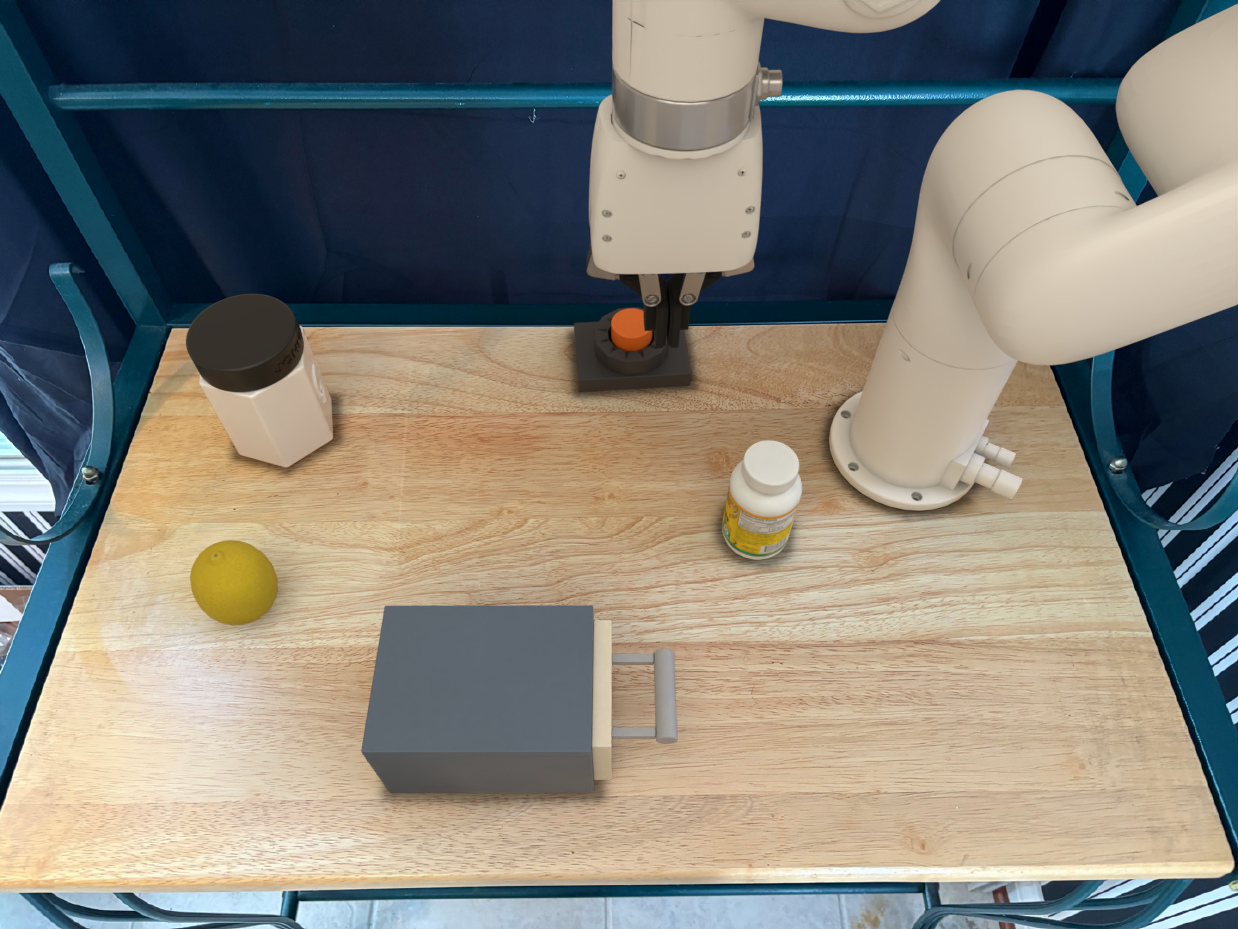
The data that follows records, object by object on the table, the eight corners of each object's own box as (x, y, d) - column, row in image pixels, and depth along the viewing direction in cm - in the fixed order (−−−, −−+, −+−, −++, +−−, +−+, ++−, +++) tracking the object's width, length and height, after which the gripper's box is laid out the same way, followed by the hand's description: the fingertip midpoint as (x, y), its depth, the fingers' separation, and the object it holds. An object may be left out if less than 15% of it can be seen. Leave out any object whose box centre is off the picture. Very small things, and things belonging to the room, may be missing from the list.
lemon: (272, 648, 67) (235, 598, 60) (202, 634, 67) (157, 583, 61) (302, 583, 70) (270, 528, 63) (235, 570, 70) (196, 514, 64)
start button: (649, 320, 82) (650, 306, 80) (653, 350, 80) (654, 336, 78) (609, 323, 81) (609, 309, 80) (612, 352, 79) (612, 339, 78)
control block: (680, 329, 85) (683, 302, 82) (690, 386, 81) (693, 359, 78) (574, 335, 85) (572, 308, 82) (578, 393, 81) (577, 366, 78)
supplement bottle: (777, 571, 70) (797, 503, 63) (711, 548, 72) (723, 479, 64) (795, 516, 73) (817, 445, 66) (732, 495, 74) (746, 423, 67)
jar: (337, 460, 76) (297, 365, 67) (237, 477, 75) (181, 383, 65) (333, 381, 81) (295, 281, 72) (239, 396, 80) (187, 297, 71)
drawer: (670, 661, 65) (675, 619, 60) (674, 780, 60) (681, 746, 55) (437, 661, 65) (420, 619, 60) (423, 780, 60) (403, 747, 55)
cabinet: (595, 658, 66) (593, 605, 59) (593, 793, 61) (591, 752, 54) (408, 658, 66) (384, 605, 59) (389, 793, 61) (360, 752, 54)
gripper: (808, 52, 51) (763, 292, 66) (541, 57, 50) (557, 298, 65) (834, 133, 47) (779, 370, 62) (542, 140, 46) (558, 378, 61)
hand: (664, 333), depth 63 cm, fingers closed
